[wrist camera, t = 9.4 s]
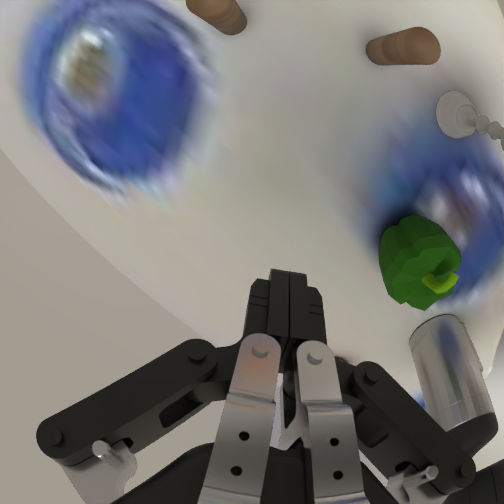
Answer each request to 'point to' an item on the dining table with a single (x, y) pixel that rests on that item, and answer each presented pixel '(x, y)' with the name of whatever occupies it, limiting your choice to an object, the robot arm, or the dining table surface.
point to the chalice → (464, 118)
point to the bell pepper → (418, 262)
